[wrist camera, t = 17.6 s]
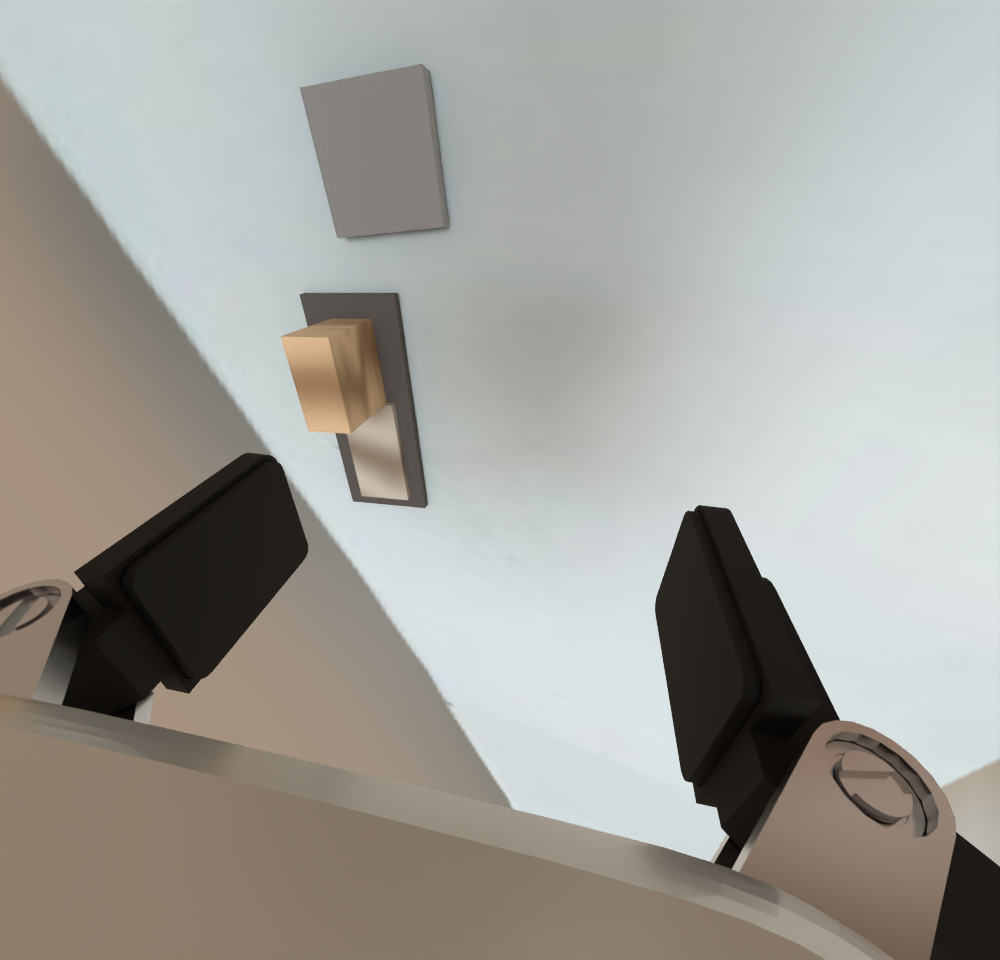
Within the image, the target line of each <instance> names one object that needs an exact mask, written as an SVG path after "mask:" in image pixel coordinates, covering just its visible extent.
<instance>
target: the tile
mask: <svg viewBox="0 0 1000 960" xmlns="http://www.w3.org/2000/svg"><path fill="white" fill-rule="evenodd" d="M300 90H301V94H302V98H303V102H304V106H305V110H306V114H307V118H308V122H309V126H310V130H311V134H312V138H313V142H314V146H315V150H316V154H317V158H318V162H319V166H320V170H321V174H322V178H323V182H324V186H325V190H326V194H327V198H328V202H329V206H330V210H331V214H332V218H333V222H334V226H335V230H336V234H337V238H349V237H358V236H368V235H377V234H386V233H395V232H405V231H414V230H423V229H433V228H442V227H449V222H448V214H447V206H446V198H445V190H444V183H443V175H442V167H441V159H440V151H439V143H438V135H437V127H436V120H435V112H434V104H433V96H432V88H431V80H430V72H429V70H428V69H427V68H425V67H424V66H423V65H422V64H420V65H415V66H409V67H404V68H399V69H394V70H389V71H384V72H379V73H373V74H368V75H363V76H358V77H353V78H348V79H343V80H338V81H332V82H327V83H322V84H317V85H312V86H307V87H302V88H300Z"/></svg>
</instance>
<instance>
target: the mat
mask: <svg viewBox="0 0 1000 960" xmlns="http://www.w3.org/2000/svg"><path fill="white" fill-rule="evenodd" d="M300 298H301V302H302V306H303V310H304V313H305V317H306V321H307V325H308V327H309V326H312V325H315V324H317V323H320V322H323V321H326V320H329V319H331V318H336V319H372V323H373V329H374V335H375V340H376V346H377V351H378V357H379V363H380V368H381V374H382V379H383V385H384V391H385V396H386V402H387V403H395V408H396V414H397V420H398V426H399V432H400V438H401V444H402V450H403V456H404V462H405V468H406V474H407V480H408V486H409V492H410V498H409V500H400V499H389V498H378V497H367V496H362V495H361V491H360V487H359V483H358V479H357V474H356V470H355V466H354V462H353V458H352V454H351V450H350V446H349V441H348V437H347V434H345V433H336V437H337V441H338V445H339V449H340V453H341V456H342V460H343V464H344V468H345V472H346V476H347V480H348V484H349V487H350V491H351V495H352V499H353V501H355V502H366V503H377V504H388V505H399V506H410V507H421V508H426V506H427V499H426V492H425V485H424V478H423V471H422V464H421V457H420V450H419V443H418V436H417V429H416V422H415V415H414V408H413V401H412V394H411V387H410V380H409V373H408V366H407V359H406V352H405V345H404V338H403V331H402V324H401V317H400V310H399V303H398V296H397V293H304V294H300Z"/></svg>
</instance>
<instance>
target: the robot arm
mask: <svg viewBox="0 0 1000 960" xmlns="http://www.w3.org/2000/svg"><path fill="white" fill-rule="evenodd" d="M307 553H308V543H307V540H306V538H305V534H304V531H303V528H302V525H301V522H300V519H299V516H298V513H297V510H296V507H295V504H294V501H293V498H292V495H291V492H290V488H289V486H288V482H287V479H286V476H285V473H284V470H283V467H282V465H281V464H280V463H278V462H277V460H276V459H275V458H274V457H273V456H270V455H263V454H254V453H245V454H243V455H241V456H240V457H238V458H237V459H235V460H234V461H233V462H231V463H230V464H228V465H227V466H225V467H224V468H222V469H221V470H220V471H218V472H217V473H215V474H214V475H212V476H211V477H210V478H208V479H207V480H205V481H204V482H202V483H201V484H199V485H198V486H197V487H195V488H194V489H192V490H191V491H190V492H188V493H187V494H186V495H184V496H182V497H181V498H180V499H178V500H177V501H175V502H174V503H172V504H171V505H169V506H168V507H167V508H165V509H164V510H162V511H161V512H159V513H158V514H157V515H155V516H154V517H152V518H151V519H149V520H148V521H147V522H145V523H144V524H143V525H141V526H140V527H138V528H137V529H135V530H134V531H132V532H131V533H129V534H128V535H126V536H125V537H124V538H122V539H121V540H119V541H118V542H116V543H115V544H114V545H112V546H111V547H109V548H108V549H106V550H105V551H104V552H102V553H101V554H99V555H98V556H96V557H95V558H94V559H92V560H91V561H89V562H88V563H86V564H85V565H83V566H82V567H81V568H79V569H78V570H76V571H75V572H74V573H75V574H76V575H77V577H78V578H79V579H80V580H81V581H82V583H83V584H84V585H85V587H83V588H82V589H81V590H79V591H78V592H76V591H75V590H74V589H73V587H72V586H71V585H70V584H69V583H68V582H66V581H62V580H59V579H57V580H43V581H38V582H33V583H29V584H26V585H23V586H20V587H17V588H14V589H12V590H10V591H8V592H5V593H3V594H1V595H0V960H1000V867H999V866H998V865H997V864H996V863H994V862H993V861H992V860H991V859H989V858H988V857H987V856H986V855H984V854H983V853H982V852H981V851H979V850H978V849H977V848H976V847H974V846H973V845H972V844H970V843H969V842H968V841H967V840H965V839H964V838H963V837H962V836H960V835H959V834H958V833H957V832H956V825H955V817H954V815H953V812H952V810H951V807H950V804H949V802H948V799H947V797H946V796H945V794H944V793H943V791H942V790H941V788H940V787H939V785H938V784H937V782H936V781H935V780H934V778H933V777H932V775H931V774H930V773H929V772H928V771H927V770H926V769H925V768H924V767H923V766H922V765H921V764H920V763H919V762H918V761H917V760H916V759H915V758H914V757H913V756H912V755H911V754H910V753H908V752H907V751H906V750H904V749H903V748H902V747H901V746H899V745H898V744H897V743H896V742H894V741H893V740H891V739H889V738H888V737H886V736H884V735H882V734H881V733H879V732H877V731H875V730H874V729H871V728H869V727H866V726H863V725H860V724H857V723H855V722H849V721H840V719H839V717H838V715H837V713H836V711H835V709H834V707H833V705H832V703H831V701H830V699H829V697H828V695H827V693H826V691H825V689H824V687H823V685H822V683H821V681H820V678H819V676H818V674H817V672H816V670H815V668H814V666H813V664H812V662H811V660H810V658H809V656H808V654H807V652H806V650H805V648H804V646H803V644H802V642H801V640H800V638H799V636H798V634H797V632H796V630H795V628H794V626H793V624H792V621H791V619H790V617H789V615H788V613H787V611H786V609H785V607H784V605H783V603H782V601H781V599H780V597H779V595H778V593H777V591H776V589H775V587H774V586H773V584H772V583H771V581H769V580H768V579H766V578H762V577H761V574H760V572H759V570H758V568H757V566H756V564H755V562H754V559H753V557H752V555H751V553H750V551H749V549H748V547H747V545H746V542H745V540H744V538H743V536H742V534H741V532H740V530H739V528H738V525H737V523H736V521H735V519H734V517H733V515H732V513H731V511H730V510H729V509H727V508H718V507H710V506H701V505H699V506H697V507H696V508H695V510H694V512H693V511H687V512H686V513H685V515H684V517H683V520H682V523H681V526H680V529H679V532H678V535H677V538H676V541H675V544H674V547H673V550H672V553H671V556H670V559H669V562H668V565H667V567H666V570H665V573H664V576H663V579H662V582H661V585H660V588H659V591H658V594H657V597H656V603H655V613H656V619H657V626H658V632H659V638H660V644H661V650H662V656H663V663H664V669H665V675H666V681H667V687H668V693H669V700H670V706H671V712H672V718H673V724H674V730H675V736H676V743H677V749H678V755H679V761H680V767H681V772H682V775H683V778H684V780H685V781H687V782H692V783H693V787H694V793H695V798H696V803H698V804H703V805H707V806H712V807H717V810H718V815H719V819H720V824H721V828H722V829H723V830H724V831H725V832H726V833H727V834H726V836H725V838H724V839H723V841H722V843H721V845H720V846H719V848H718V850H717V851H716V853H715V855H714V856H713V858H712V860H711V862H708V861H705V860H702V859H699V858H696V857H692V856H689V855H686V854H683V853H680V852H676V851H673V850H670V849H667V848H664V847H660V846H656V845H652V844H648V843H644V842H640V841H637V840H633V839H629V838H625V837H621V836H617V835H613V834H609V833H605V832H602V831H598V830H594V829H590V828H586V827H582V826H578V825H574V824H571V823H567V822H563V821H559V820H555V819H551V818H547V817H543V816H539V815H535V814H530V813H526V812H522V811H518V810H513V809H509V808H505V807H501V806H497V805H492V804H488V803H484V802H480V801H476V800H471V799H467V798H462V797H459V796H455V795H450V794H446V793H442V792H437V791H433V790H429V789H425V788H420V787H416V786H412V785H408V784H404V783H400V782H395V781H391V780H387V779H383V778H379V777H374V776H370V775H366V774H361V773H357V772H353V771H349V770H344V769H340V768H336V767H331V766H327V765H323V764H318V763H314V762H310V761H306V760H301V759H297V758H293V757H288V756H284V755H280V754H275V753H271V752H266V751H262V750H258V749H253V748H249V747H245V746H241V745H236V744H232V743H228V742H223V741H219V740H215V739H210V738H205V737H201V736H197V735H193V734H188V733H184V732H179V731H175V730H170V729H166V728H162V727H157V726H153V725H149V723H150V715H151V708H152V701H153V693H154V692H153V689H154V688H155V687H156V686H157V684H158V683H159V682H160V681H161V682H162V684H163V685H164V686H165V687H166V688H167V689H171V690H175V691H180V692H184V693H190V692H191V691H192V689H193V688H194V687H195V686H196V685H197V683H198V682H199V681H200V680H201V679H202V678H205V677H207V676H208V675H209V674H210V673H211V672H212V671H213V670H214V669H215V668H216V666H217V665H218V664H219V663H220V661H221V660H222V659H223V658H224V657H225V655H226V654H227V653H228V652H229V650H230V649H231V648H232V647H233V646H234V644H235V643H236V642H237V641H238V640H239V638H240V637H241V636H242V635H243V634H244V632H245V631H246V630H247V629H248V627H249V626H250V625H251V624H252V622H253V621H254V620H255V619H256V618H257V617H258V615H259V614H260V613H261V612H262V610H263V609H264V608H265V607H266V606H267V604H268V603H269V602H270V601H271V599H272V598H273V597H274V596H275V595H276V593H277V592H278V591H279V590H280V589H281V587H282V586H283V585H284V584H285V582H286V581H287V580H288V579H289V578H290V576H291V575H292V574H293V573H294V572H295V570H296V569H297V568H298V567H299V565H300V564H301V563H302V562H303V560H304V559H305V558H306V556H307Z"/></svg>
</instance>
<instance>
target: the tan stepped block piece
mask: <svg viewBox="0 0 1000 960" xmlns="http://www.w3.org/2000/svg"><path fill="white" fill-rule="evenodd" d="M281 339H282V342H283V346H284V349H285V353H286V356H287V359H288V363H289V366H290V369H291V373H292V376H293V380H294V383H295V386H296V390H297V393H298V397H299V400H300V403H301V407H302V410H303V413H304V417H305V420H306V424H307V427H308V430H309V431H313V432H329V433H345V434H347V437H348V441H349V446H350V450H351V454H352V458H353V462H354V466H355V470H356V474H357V479H358V483H359V487H360V491H361V495H362V496H367V497H378V498H389V499H400V500H409V498H410V492H409V486H408V480H407V474H406V468H405V462H404V456H403V450H402V444H401V438H400V432H399V426H398V420H397V414H396V408H395V403H387V402H386V396H385V391H384V385H383V379H382V374H381V368H380V363H379V357H378V351H377V346H376V340H375V335H374V329H373V323H372V319H336V318H331V319H329V320H326V321H323V322H320V323H317V324H315V325H312V326H309V327H306V328H304V329H301V330H298V331H295V332H292V333H290V334H287V335H284V336H281Z"/></svg>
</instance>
